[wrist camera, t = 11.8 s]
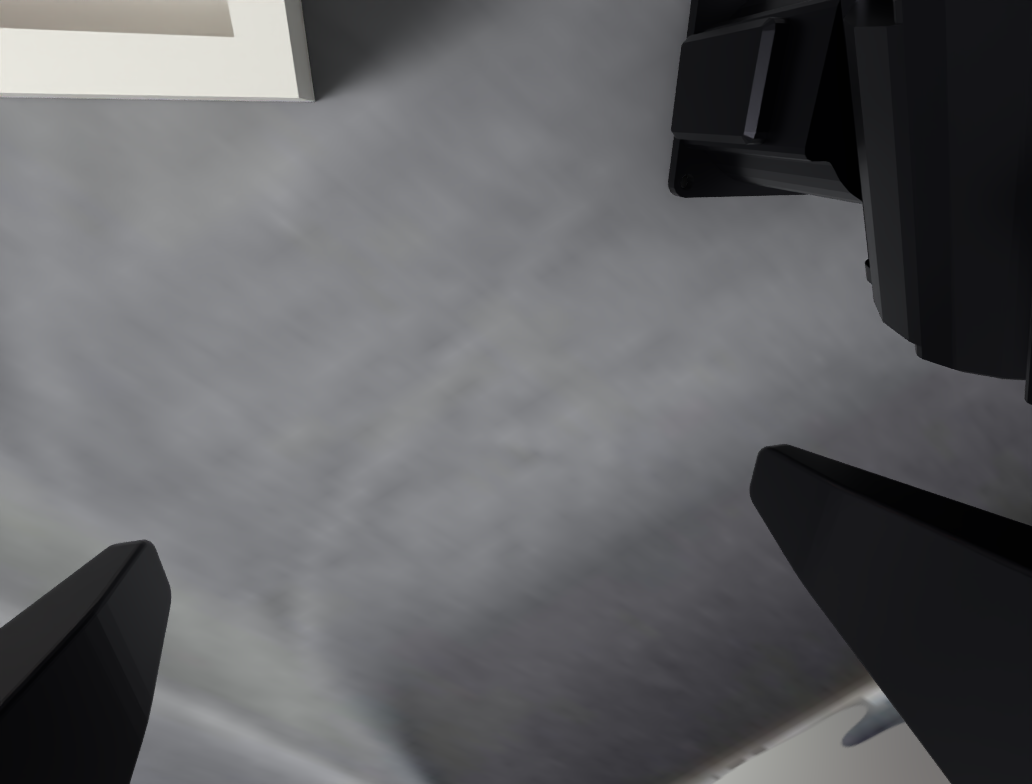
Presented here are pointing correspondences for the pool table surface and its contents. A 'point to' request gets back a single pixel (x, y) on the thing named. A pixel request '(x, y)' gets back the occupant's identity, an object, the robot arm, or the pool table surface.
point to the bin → (155, 50)
